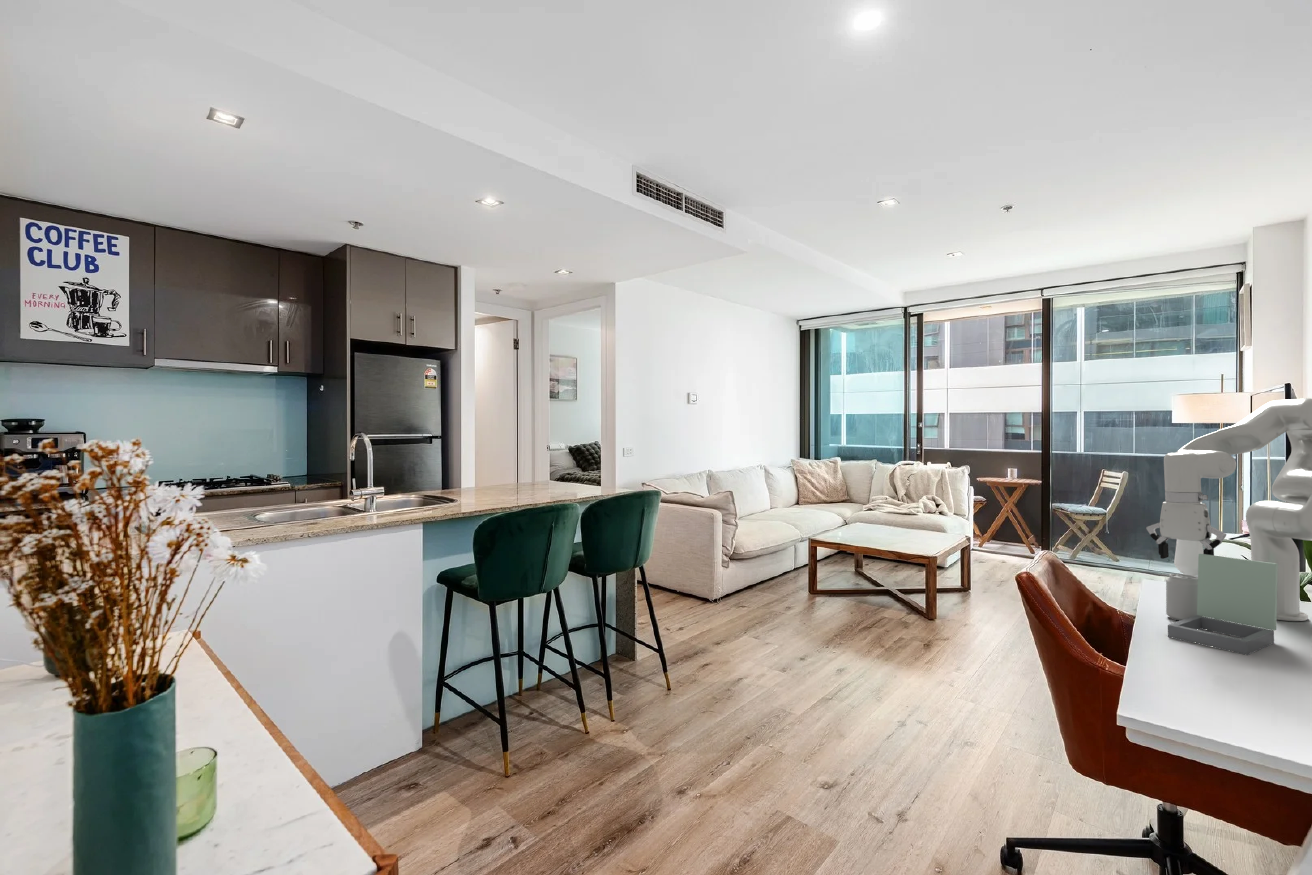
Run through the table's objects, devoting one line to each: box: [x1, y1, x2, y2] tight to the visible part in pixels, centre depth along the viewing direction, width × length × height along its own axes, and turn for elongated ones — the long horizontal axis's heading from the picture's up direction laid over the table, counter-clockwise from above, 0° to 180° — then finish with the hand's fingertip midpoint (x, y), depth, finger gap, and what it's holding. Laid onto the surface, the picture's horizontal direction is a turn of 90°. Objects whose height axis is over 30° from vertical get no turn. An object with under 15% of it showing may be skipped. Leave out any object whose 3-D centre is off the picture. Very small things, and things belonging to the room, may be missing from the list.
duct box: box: [1167, 615, 1275, 656], centre depth 153 cm, size 16×15×3 cm
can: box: [1165, 573, 1199, 621], centre depth 169 cm, size 8×8×12 cm
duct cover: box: [1197, 553, 1278, 631], centre depth 157 cm, size 16×15×1 cm
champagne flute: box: [1173, 539, 1204, 576], centre depth 178 cm, size 7×7×24 cm
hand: (1185, 560), depth 170 cm, fingers open, 9 cm apart
